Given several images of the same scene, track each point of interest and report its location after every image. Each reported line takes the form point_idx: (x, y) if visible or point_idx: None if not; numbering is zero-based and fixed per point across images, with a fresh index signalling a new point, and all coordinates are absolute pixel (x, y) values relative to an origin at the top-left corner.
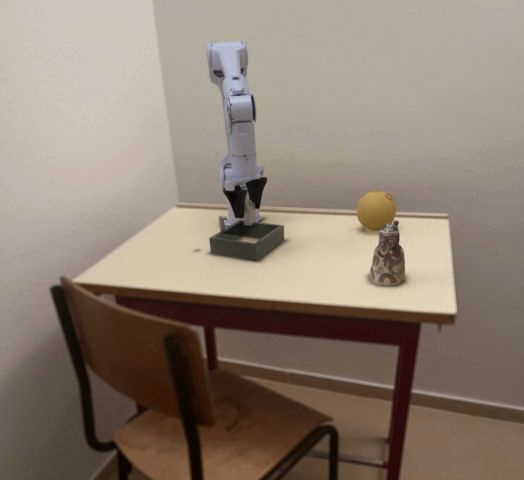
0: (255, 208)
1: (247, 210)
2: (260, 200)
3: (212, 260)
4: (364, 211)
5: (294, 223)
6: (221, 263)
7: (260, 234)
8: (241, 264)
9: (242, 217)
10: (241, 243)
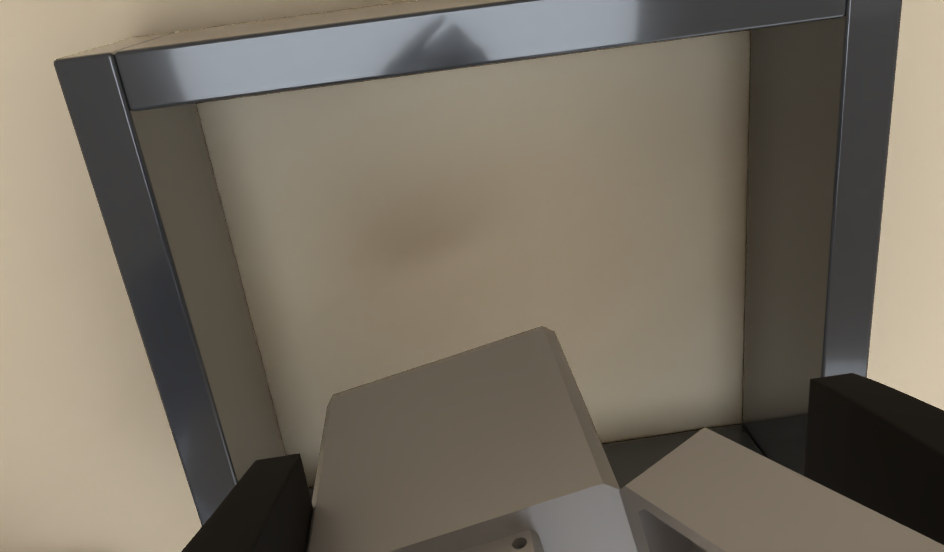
0: (311, 504)
1: (725, 442)
2: (220, 538)
3: (902, 343)
4: None
5: None
6: (941, 235)
7: (239, 323)
8: (912, 51)
9: (866, 380)
10: (881, 169)
